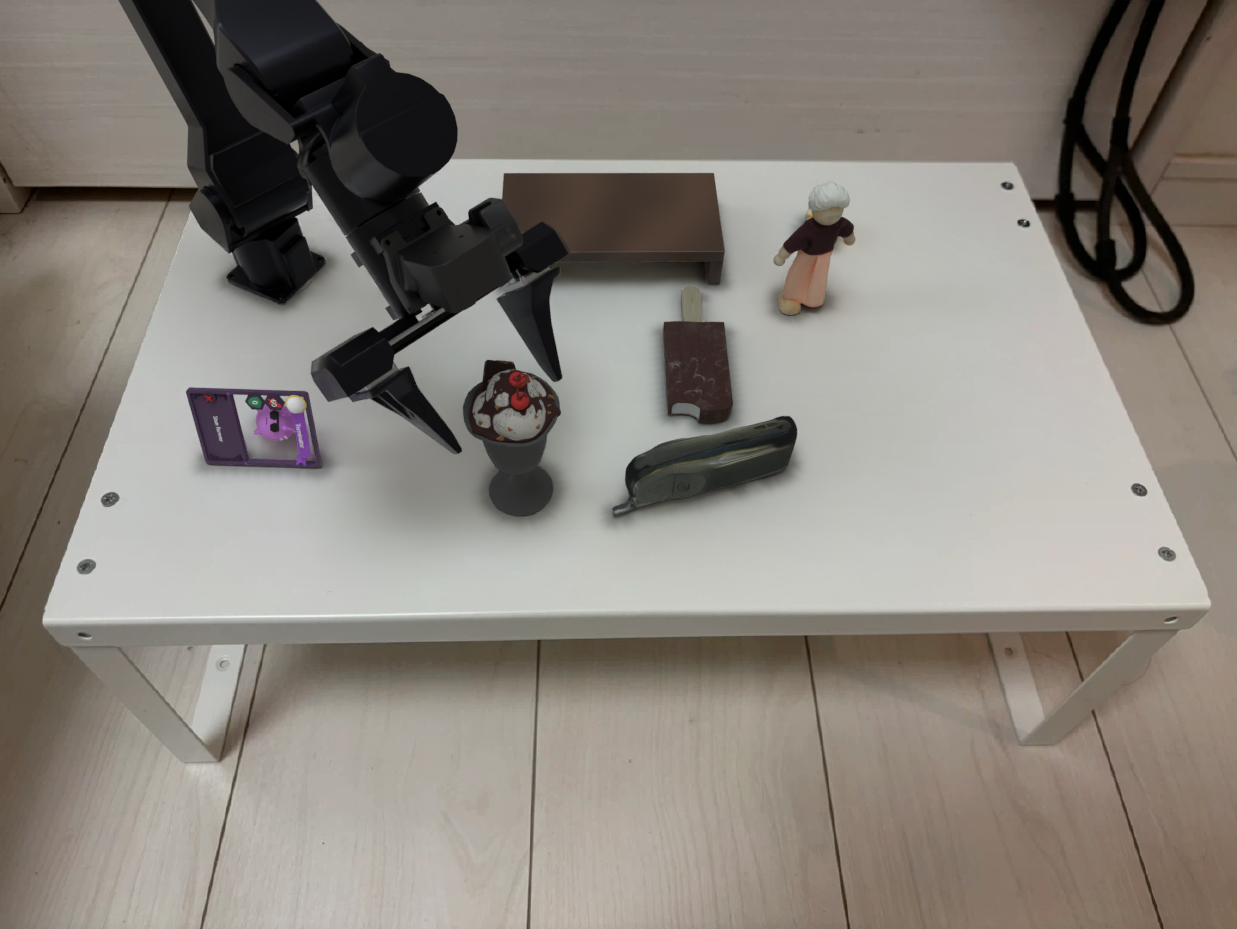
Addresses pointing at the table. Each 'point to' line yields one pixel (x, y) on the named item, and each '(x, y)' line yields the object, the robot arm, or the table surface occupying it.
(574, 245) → the shelf
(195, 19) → the robot arm
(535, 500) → the sundae
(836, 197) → the grandmother figurine
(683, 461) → the swiss army knife
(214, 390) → the game card
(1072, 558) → the table surface
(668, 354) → the ice cream bar
